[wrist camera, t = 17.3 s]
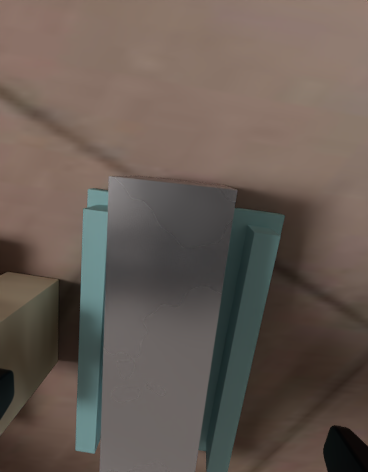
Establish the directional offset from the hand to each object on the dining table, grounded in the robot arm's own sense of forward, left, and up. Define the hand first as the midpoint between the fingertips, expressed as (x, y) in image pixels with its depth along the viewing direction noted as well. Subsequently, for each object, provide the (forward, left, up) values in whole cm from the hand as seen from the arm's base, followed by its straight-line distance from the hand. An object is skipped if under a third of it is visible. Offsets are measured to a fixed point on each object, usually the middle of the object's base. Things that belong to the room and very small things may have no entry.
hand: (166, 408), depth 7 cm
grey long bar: (0, 0, -3) cm, 3 cm away
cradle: (0, 0, -4) cm, 4 cm away
